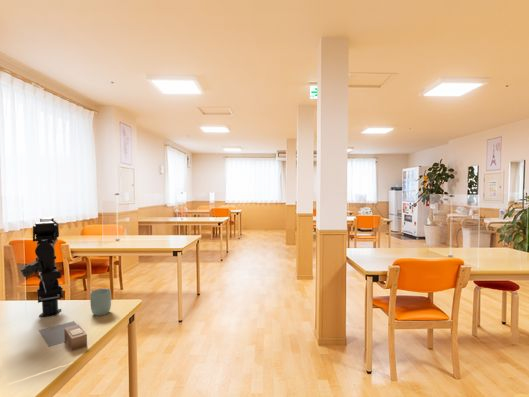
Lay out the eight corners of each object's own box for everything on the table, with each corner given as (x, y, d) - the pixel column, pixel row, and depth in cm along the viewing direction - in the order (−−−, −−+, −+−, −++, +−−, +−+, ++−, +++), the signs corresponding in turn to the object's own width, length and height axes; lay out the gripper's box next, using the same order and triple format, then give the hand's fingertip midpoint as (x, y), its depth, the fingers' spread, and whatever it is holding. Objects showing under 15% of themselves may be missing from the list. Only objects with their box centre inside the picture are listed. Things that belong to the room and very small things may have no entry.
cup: (103, 318, 137) (102, 294, 137) (86, 317, 139) (86, 293, 138) (115, 311, 145) (114, 288, 144) (99, 310, 146) (98, 288, 146)
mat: (38, 331, 126) (38, 330, 126) (73, 322, 134) (73, 321, 134) (48, 347, 113) (48, 346, 113) (87, 336, 121) (87, 335, 121)
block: (64, 327, 117) (71, 338, 110) (78, 323, 120) (86, 333, 113) (64, 340, 117) (72, 351, 110) (78, 336, 120) (87, 347, 113)
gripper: (17, 253, 131) (18, 292, 131) (24, 261, 117) (26, 304, 118) (50, 249, 138) (51, 286, 139) (61, 256, 125) (62, 297, 125)
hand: (47, 293), depth 130 cm, fingers closed
